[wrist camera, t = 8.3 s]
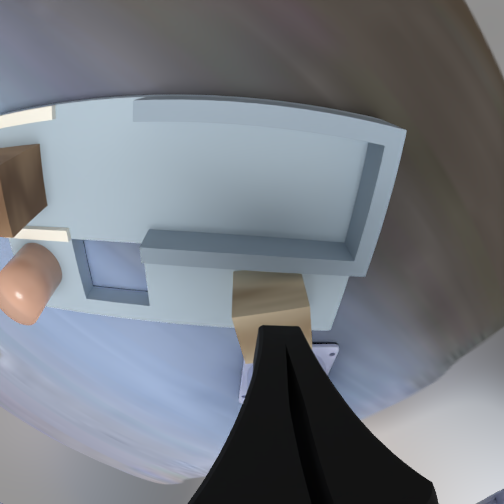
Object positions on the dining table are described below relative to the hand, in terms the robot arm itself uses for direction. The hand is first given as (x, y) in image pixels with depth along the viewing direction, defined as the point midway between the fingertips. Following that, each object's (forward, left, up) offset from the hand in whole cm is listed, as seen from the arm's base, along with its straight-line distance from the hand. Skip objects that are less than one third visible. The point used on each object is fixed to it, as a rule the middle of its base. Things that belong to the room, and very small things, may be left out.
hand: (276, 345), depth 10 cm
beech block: (-4, -1, -8) cm, 10 cm away
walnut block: (+3, +15, -8) cm, 18 cm away
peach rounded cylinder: (-4, +16, -8) cm, 18 cm away
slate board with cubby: (0, +6, -10) cm, 12 cm away
